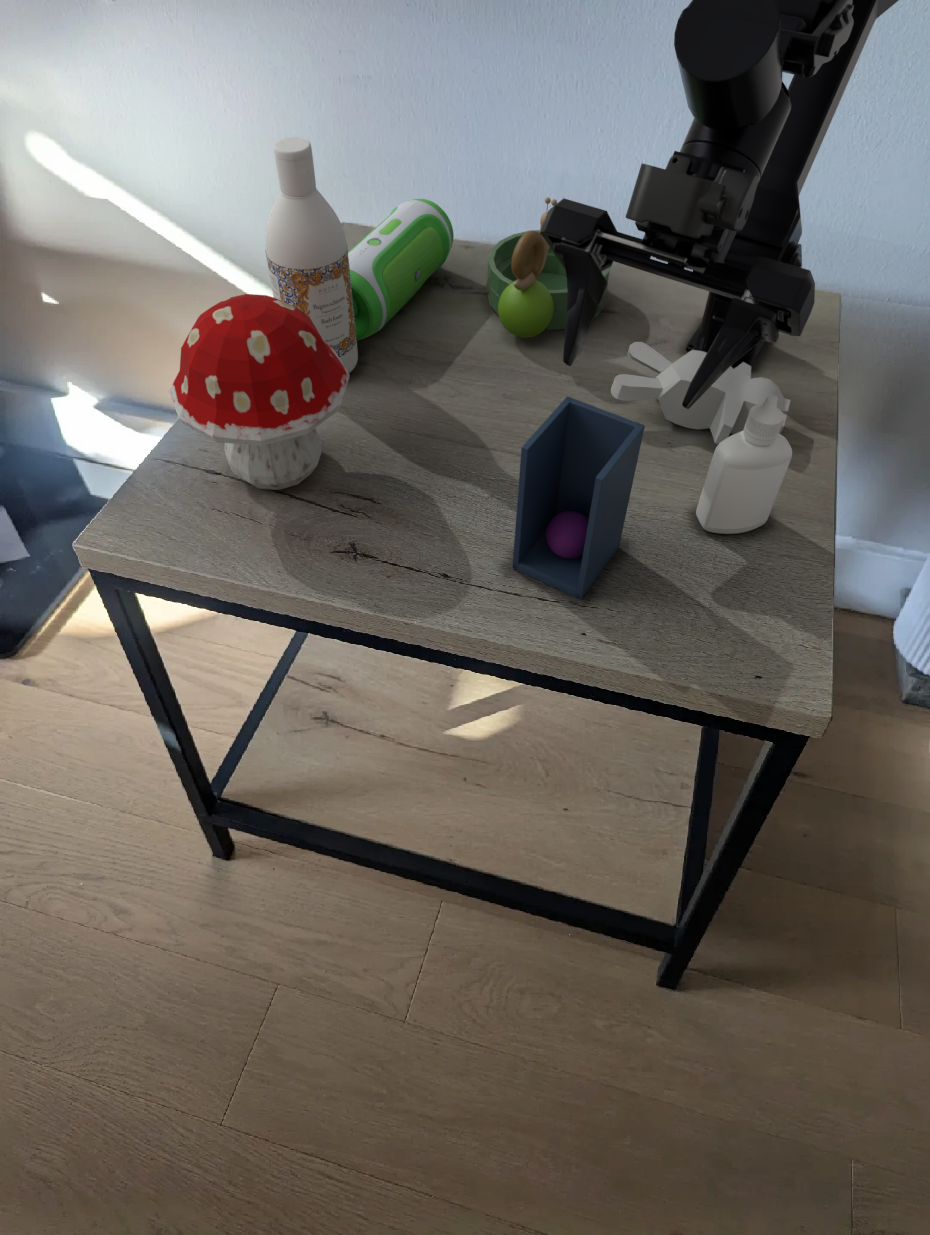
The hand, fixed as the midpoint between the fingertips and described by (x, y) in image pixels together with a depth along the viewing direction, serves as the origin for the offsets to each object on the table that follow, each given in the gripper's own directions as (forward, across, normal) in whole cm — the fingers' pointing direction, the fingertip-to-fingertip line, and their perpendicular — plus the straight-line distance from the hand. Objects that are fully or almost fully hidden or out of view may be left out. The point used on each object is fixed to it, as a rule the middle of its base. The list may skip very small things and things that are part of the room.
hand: (624, 385), depth 61 cm
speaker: (-3, -32, +20) cm, 38 cm away
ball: (+11, 0, +3) cm, 12 cm away
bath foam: (+6, -32, +12) cm, 34 cm away
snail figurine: (-6, -18, +20) cm, 27 cm away
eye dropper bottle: (+5, +9, +12) cm, 16 cm away
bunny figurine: (-2, +2, +20) cm, 20 cm away
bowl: (-9, -19, +26) cm, 34 cm away
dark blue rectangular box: (+13, 0, +4) cm, 14 cm away
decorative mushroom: (+16, -26, +2) cm, 30 cm away
